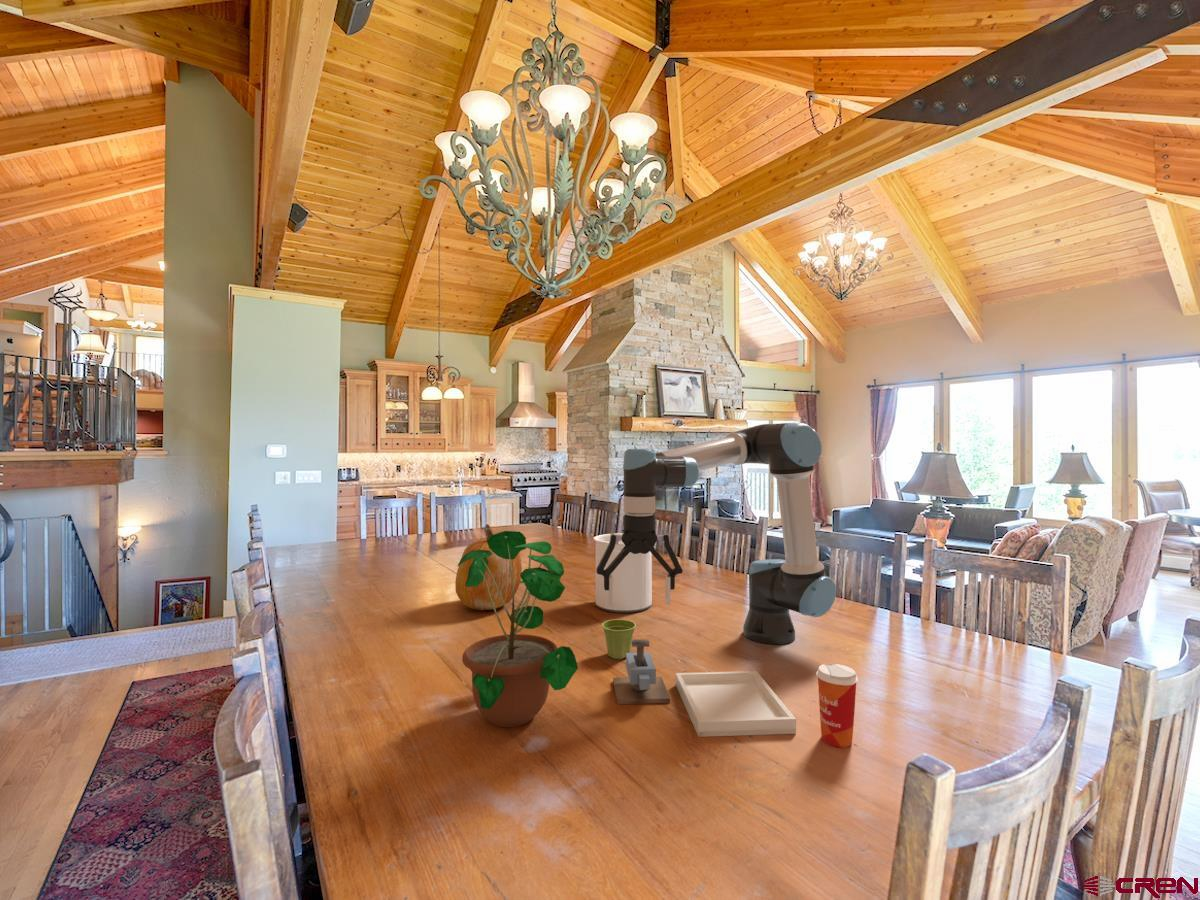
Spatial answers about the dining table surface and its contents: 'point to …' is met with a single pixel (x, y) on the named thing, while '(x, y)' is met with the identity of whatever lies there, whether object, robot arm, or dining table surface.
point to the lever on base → (632, 692)
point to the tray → (733, 704)
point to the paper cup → (837, 703)
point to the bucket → (624, 579)
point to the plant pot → (618, 637)
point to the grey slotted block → (641, 671)
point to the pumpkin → (488, 578)
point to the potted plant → (517, 639)
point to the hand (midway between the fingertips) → (639, 603)
